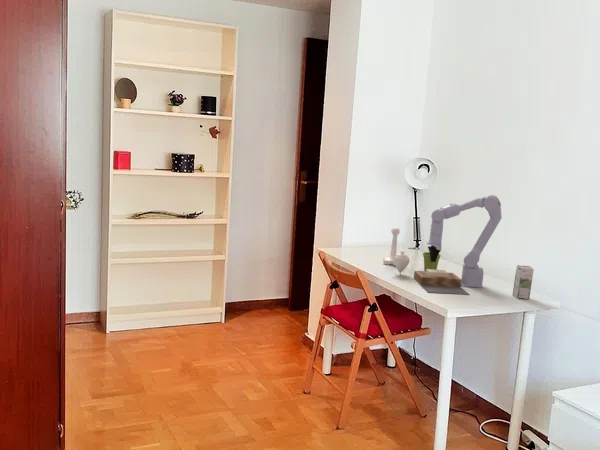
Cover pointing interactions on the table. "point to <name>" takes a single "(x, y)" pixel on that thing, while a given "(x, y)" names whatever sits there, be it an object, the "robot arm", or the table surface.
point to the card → (436, 273)
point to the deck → (437, 279)
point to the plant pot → (428, 263)
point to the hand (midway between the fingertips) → (432, 261)
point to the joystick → (392, 247)
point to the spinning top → (401, 261)
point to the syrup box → (523, 282)
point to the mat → (444, 290)
